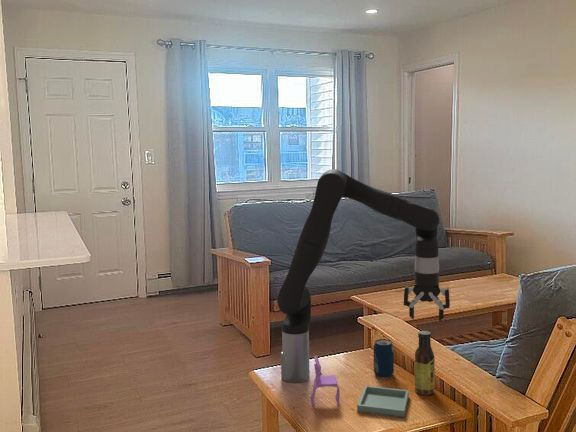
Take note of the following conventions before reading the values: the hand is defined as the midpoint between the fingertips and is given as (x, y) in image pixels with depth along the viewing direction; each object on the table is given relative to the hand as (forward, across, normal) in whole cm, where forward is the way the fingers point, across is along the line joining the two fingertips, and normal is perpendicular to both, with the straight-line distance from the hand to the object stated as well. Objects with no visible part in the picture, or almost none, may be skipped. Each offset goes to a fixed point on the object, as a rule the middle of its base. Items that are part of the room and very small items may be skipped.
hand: (426, 319), depth 174 cm
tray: (+24, -12, -13) cm, 30 cm away
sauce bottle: (+24, 0, -1) cm, 24 cm away
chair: (+24, -30, -15) cm, 42 cm away
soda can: (+24, -15, +9) cm, 30 cm away
